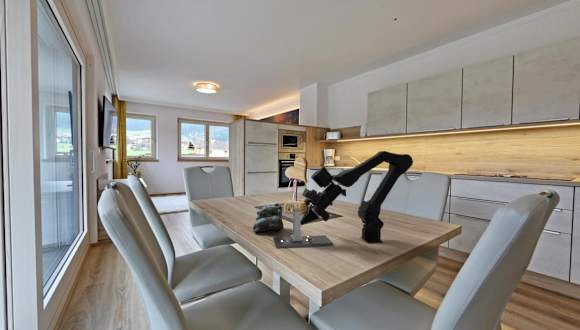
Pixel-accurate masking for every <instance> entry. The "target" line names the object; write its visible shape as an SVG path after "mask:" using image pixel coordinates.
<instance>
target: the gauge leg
mask: <svg viewBox="0 0 580 330" xmlns="http://www.w3.org/2000/svg"><path fill="white" fill-rule="evenodd" d="M292 211H293V216H292V217H293V221H292V222H293V223H292V234H290V237H291V240H292V242H295V241H303V238H302V236H303V235H301V219H302V217H301V216H302V208H301V207H292Z"/></svg>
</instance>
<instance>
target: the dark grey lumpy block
mask: <svg viewBox="0 0 580 330" xmlns="http://www.w3.org/2000/svg"><path fill="white" fill-rule="evenodd" d="M284 229H285V228H284V221H283V206H282V205H280V204H279V203H275V204H267V205H264V206H263V207H261V209H259V210H258V211H256V217H255V223H254V224H253V225H252V230H253V231H252V232H253V233H259V232H263V231H265V232H266V231H280V232H281V231H283V230H284Z"/></svg>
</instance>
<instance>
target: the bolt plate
mask: <svg viewBox="0 0 580 330" xmlns="http://www.w3.org/2000/svg"><path fill="white" fill-rule="evenodd" d="M301 236H302V238H303V241H295V242H292V240H291V236H273V237H272V241H273V243H274V247H275V249H280V248H281V249H283V248H286V249H287V248H305V247H325V246H326V247H328V246H334V244H333V243H334V242H332V240H330V238H329V237H328V236H327V235H311V234H308V235H301Z"/></svg>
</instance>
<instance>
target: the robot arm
mask: <svg viewBox="0 0 580 330" xmlns="http://www.w3.org/2000/svg"><path fill="white" fill-rule="evenodd" d="M383 163H386V164H388V170H387V172H386V175H384V177H383V178H382V180H381V181H380V183H379V185H378V187H377V188H376V190H375V191H374V192H373V195H372V196H371V198H370V199H369V200H362V202H361V204H360V206H359V207H358V208H357V209H358V211H357V215H358V218H359V219H360V220H361V222H362V228H361V237H360V238H361V239H362V240H363V241H365V242H366V243H367V244H374V243H375V244H378V243H383V242H384V241H383V240H382V238H381V236H382V235H381V234H382V232H381V231H382V229H383V228H384V225H385V223H384V222H383V221H382V220H381V218H379V217H380V214H381V207H382V205H383V203H384V202H385V200H386V198H387V197H388V195H389V194H390V192H391V190H392V189H393V187H394V186H395V184H396V182H397V181H398V179H399V178H400V177H401V176H402V175H403V174H405V173H406V172H408V171H409V170H410V169H411V167H412V166H413V163H414V161H413V157H412V156H411V155H410V154H406V153H405V154H404V153H400V154H398V153H395V152H390V151H387V150H383V151H382V150H381V151H378V152H376V154H374V155H372V156H370V157H369V158H367V159H366V160H365V161H362V162H361V163H359V164H358V165H356V166H353V167H352V168H348V169H345V170H343V171H340V172H338V174H331V172H329V171H328V169H327V168H326V166H322V167H321V168H319V169H317V170H316V171H314V172H313V174H312V175H311V176H310V179H312V181H313V182H314V183H316V185H317V186H318V187H319V188H321V189H322V188H324V189H323V191H317V190H315V189H311V190H309V189H307V188H304V190H303V192H302V194H301V196H302V197H304V198H305V199H304V200H303V203H304V204H305V212H304V214H303V216H302V217H301V224H300V226H303V225H305V224H308V223H311V222H314V221H317V220H320V219H321V218H322V220H323V221H324V222H325V223H326V222H327V221H329V219H330V213H328V211H327V210H326V209H327V208H329V206H333V205H334V203H333V202H334V201H335V200H336V199H337V198H338V197H339V196H340V195H341V196H343V197H347V189H345V188H349V187H352V186H353V185H355V183H356V182H358V181H359V180H360V178H361V177H362V176H363V175H365V174H366V173H368V172H370V171H372V170H373V169H375V168H376V167H378V166H380V165H381V164H383ZM336 183H337V184H336ZM342 186H343V187H345V188H342Z"/></svg>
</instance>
